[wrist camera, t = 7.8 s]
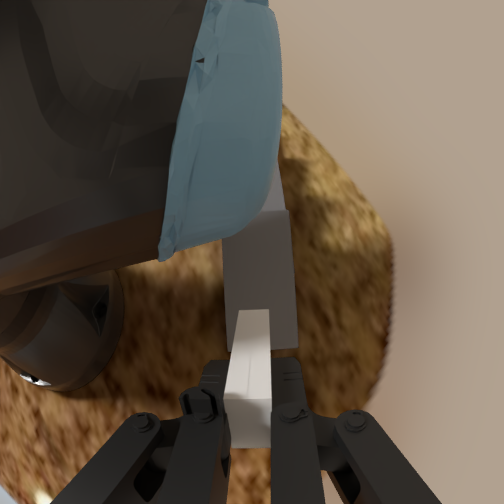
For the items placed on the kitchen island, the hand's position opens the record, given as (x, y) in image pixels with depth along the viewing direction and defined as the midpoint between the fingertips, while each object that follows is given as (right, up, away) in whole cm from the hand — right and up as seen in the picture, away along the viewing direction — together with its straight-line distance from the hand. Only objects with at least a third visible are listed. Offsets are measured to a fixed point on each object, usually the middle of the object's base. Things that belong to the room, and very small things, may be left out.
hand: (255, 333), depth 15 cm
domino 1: (+1, -3, +6) cm, 7 cm away
